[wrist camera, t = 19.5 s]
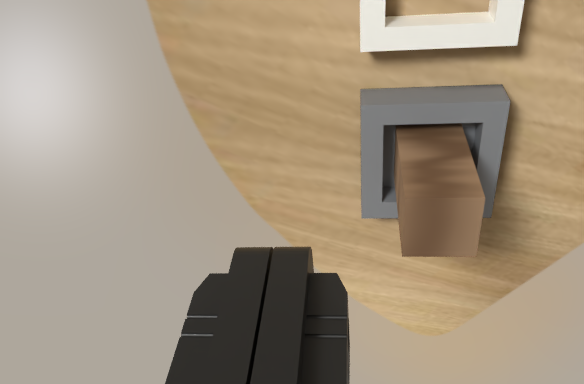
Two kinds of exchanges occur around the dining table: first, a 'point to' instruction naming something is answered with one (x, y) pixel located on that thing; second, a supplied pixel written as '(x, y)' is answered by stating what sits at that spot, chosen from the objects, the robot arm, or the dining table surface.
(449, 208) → the walnut block
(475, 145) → the gray pocket tray
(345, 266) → the dining table surface
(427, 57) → the dining table surface
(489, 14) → the white pocket frame
